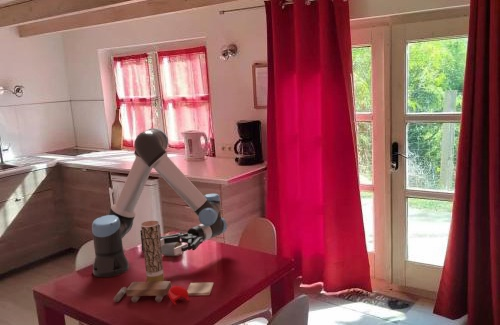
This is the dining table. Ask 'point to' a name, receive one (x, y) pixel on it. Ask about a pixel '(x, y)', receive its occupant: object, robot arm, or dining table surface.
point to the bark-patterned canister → (152, 251)
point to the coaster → (200, 288)
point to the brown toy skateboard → (145, 290)
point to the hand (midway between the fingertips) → (162, 249)
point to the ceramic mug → (170, 249)
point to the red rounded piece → (177, 293)
